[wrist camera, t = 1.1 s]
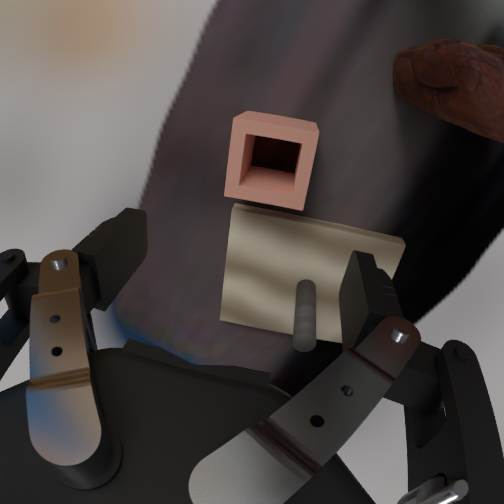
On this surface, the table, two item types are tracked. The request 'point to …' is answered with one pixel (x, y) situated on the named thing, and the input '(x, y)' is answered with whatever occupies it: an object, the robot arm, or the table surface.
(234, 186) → the bead
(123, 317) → the table surface
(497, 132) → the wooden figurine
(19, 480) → the robot arm
